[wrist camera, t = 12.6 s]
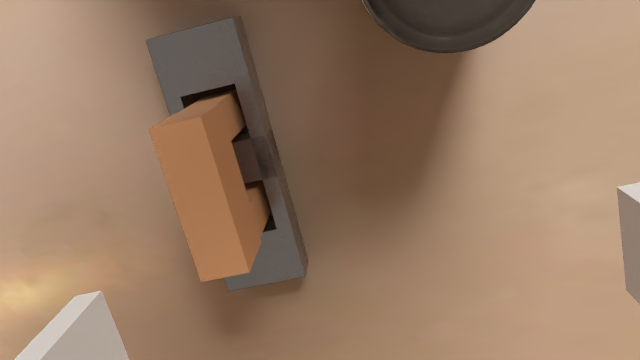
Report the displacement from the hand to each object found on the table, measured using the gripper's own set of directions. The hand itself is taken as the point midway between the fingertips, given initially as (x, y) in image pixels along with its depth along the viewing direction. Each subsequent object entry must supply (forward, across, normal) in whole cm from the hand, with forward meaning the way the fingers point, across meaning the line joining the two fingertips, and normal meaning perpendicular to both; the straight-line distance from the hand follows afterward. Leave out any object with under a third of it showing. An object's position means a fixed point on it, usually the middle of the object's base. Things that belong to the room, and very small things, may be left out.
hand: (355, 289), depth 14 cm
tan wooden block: (+33, -11, -3) cm, 35 cm away
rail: (+33, -11, -3) cm, 35 cm away
